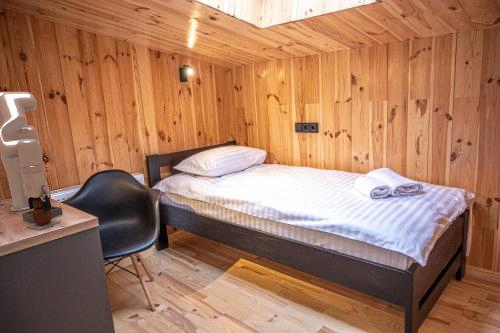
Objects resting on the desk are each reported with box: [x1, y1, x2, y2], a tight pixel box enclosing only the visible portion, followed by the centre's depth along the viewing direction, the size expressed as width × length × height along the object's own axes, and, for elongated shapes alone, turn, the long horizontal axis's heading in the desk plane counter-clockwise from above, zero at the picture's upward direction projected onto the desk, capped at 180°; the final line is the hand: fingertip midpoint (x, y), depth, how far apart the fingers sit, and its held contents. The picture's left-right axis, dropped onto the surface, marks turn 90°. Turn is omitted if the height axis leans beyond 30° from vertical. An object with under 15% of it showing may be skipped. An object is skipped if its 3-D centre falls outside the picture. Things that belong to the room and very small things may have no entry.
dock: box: [21, 205, 64, 224], centre depth 149 cm, size 11×12×4 cm
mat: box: [26, 219, 62, 231], centre depth 138 cm, size 9×9×1 cm
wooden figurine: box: [31, 197, 52, 225], centre depth 137 cm, size 7×6×15 cm
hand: (40, 209), depth 137 cm, fingers open, 9 cm apart
